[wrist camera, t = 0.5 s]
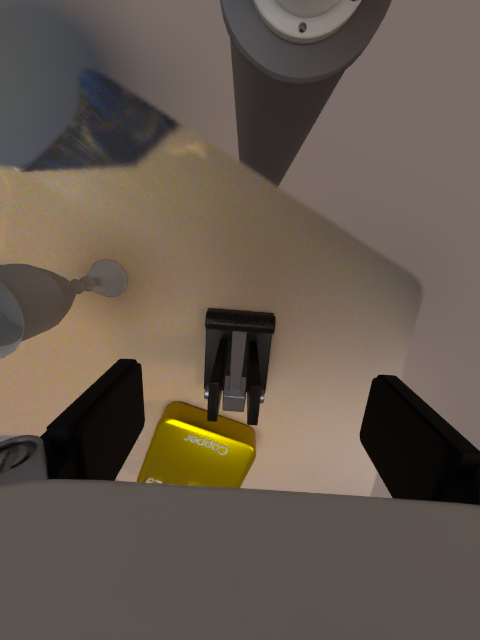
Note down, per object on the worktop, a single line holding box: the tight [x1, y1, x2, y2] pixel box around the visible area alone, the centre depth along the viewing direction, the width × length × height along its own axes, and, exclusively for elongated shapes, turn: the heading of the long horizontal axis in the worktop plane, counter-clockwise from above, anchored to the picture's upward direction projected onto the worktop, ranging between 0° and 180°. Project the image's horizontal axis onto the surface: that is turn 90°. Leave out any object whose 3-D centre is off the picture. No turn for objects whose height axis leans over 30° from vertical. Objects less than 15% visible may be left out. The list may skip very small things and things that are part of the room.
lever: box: [205, 310, 275, 412], centre depth 23 cm, size 12×5×2 cm, turn 174°
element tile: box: [137, 402, 256, 488], centre depth 40 cm, size 15×15×5 cm
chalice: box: [0, 259, 128, 358], centre depth 26 cm, size 7×7×18 cm
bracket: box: [204, 308, 274, 425], centre depth 31 cm, size 12×9×13 cm
